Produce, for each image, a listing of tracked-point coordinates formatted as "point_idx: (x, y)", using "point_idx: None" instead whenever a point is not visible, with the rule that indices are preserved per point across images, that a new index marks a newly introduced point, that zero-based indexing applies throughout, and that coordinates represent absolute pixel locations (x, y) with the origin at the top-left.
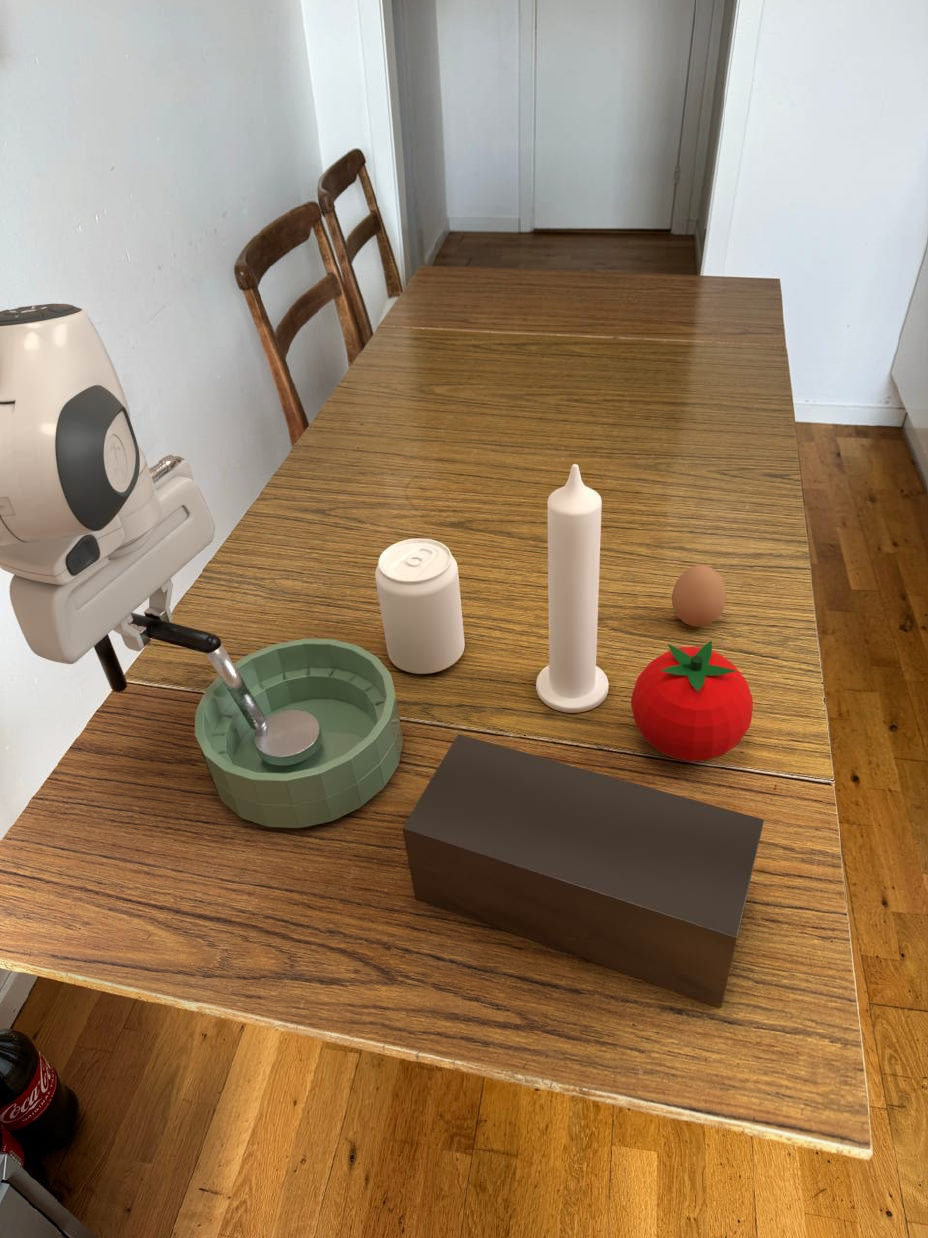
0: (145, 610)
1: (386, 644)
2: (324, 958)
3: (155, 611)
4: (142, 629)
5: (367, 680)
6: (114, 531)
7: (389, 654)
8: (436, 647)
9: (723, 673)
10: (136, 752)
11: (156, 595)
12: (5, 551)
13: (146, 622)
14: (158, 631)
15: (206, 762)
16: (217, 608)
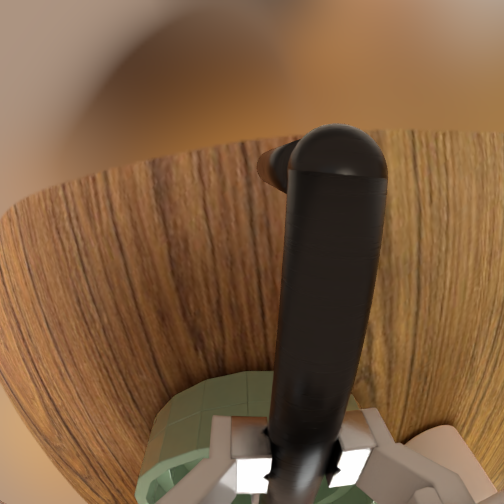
0: (353, 449)
1: (419, 449)
2: (102, 489)
3: (349, 472)
4: (253, 490)
5: (350, 488)
6: None
7: (410, 448)
8: None
9: None
10: (180, 255)
11: (396, 489)
12: None
13: (291, 482)
14: (269, 501)
15: (148, 454)
16: (492, 182)
